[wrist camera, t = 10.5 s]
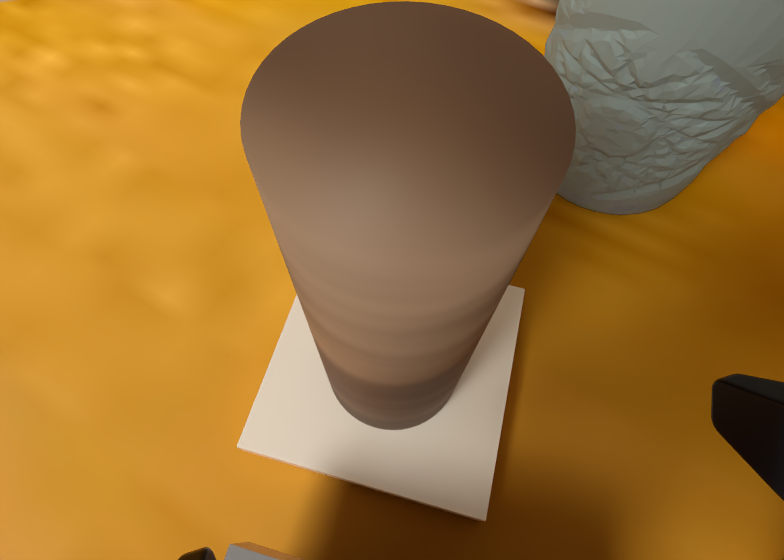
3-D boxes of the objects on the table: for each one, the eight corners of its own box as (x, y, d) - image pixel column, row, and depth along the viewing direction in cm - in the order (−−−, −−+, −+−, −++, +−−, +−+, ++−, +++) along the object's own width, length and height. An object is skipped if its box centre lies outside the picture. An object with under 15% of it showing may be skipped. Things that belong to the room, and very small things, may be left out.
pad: (480, 521, 18) (485, 521, 17) (243, 450, 19) (236, 446, 18) (519, 298, 22) (524, 288, 21) (321, 249, 22) (319, 237, 22)
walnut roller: (442, 446, 18) (553, 295, 6) (309, 409, 18) (180, 203, 7) (469, 321, 20) (590, 33, 8) (350, 290, 20) (307, -22, 9)
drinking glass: (650, 68, 28) (817, -216, 17) (746, 213, 24) (1045, -44, 13) (480, 94, 27) (546, -192, 16) (548, 253, 23) (700, 6, 12)
